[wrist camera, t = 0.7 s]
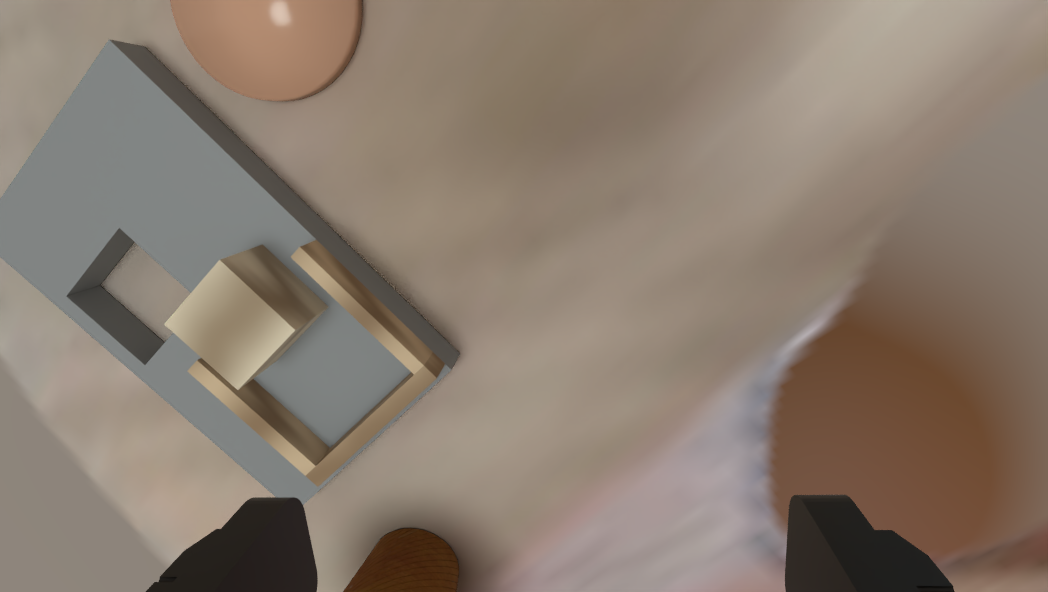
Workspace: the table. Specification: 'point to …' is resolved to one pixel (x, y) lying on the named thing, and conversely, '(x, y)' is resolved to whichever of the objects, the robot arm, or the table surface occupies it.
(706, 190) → the table surface
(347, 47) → the saucer
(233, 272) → the block
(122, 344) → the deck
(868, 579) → the robot arm
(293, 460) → the frame
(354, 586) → the disposable coffee cup
